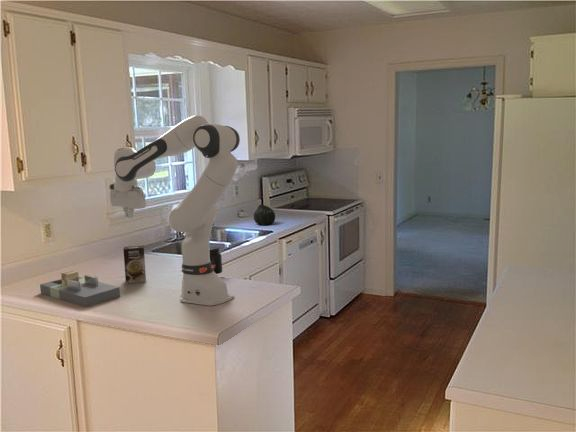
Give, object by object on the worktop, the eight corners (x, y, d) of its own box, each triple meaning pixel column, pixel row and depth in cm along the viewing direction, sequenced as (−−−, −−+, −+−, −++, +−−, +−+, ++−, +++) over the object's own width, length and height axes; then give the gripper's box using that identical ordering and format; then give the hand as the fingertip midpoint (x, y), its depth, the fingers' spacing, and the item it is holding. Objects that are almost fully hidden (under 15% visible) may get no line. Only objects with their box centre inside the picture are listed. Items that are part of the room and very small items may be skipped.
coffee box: (125, 284, 242) (122, 249, 240) (125, 280, 248) (123, 246, 246) (146, 282, 245) (143, 247, 242) (146, 278, 251) (143, 244, 248)
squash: (280, 217, 376) (272, 200, 382) (261, 220, 368) (253, 203, 374) (273, 228, 386) (265, 211, 393) (255, 231, 379) (247, 214, 385)
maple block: (79, 282, 232) (78, 271, 231) (68, 285, 228) (67, 274, 227) (72, 281, 235) (71, 270, 234) (62, 284, 231) (60, 272, 230)
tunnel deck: (120, 296, 225) (118, 278, 223) (85, 307, 212) (84, 288, 211) (74, 284, 245) (73, 268, 244) (40, 293, 232) (39, 276, 231)
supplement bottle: (212, 270, 262) (211, 246, 260) (225, 271, 259) (223, 246, 257) (205, 273, 255) (204, 249, 254) (218, 274, 253) (216, 250, 251)
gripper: (148, 186, 226) (150, 218, 229) (118, 184, 239) (121, 214, 241) (135, 187, 221) (138, 220, 224) (106, 185, 234) (109, 216, 236)
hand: (129, 217), depth 232 cm, fingers closed
